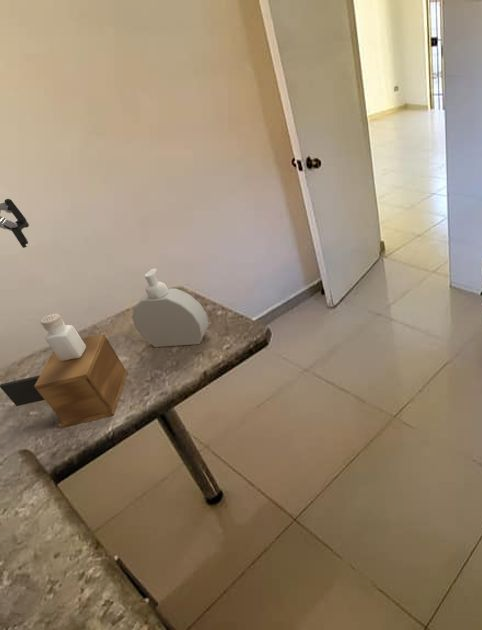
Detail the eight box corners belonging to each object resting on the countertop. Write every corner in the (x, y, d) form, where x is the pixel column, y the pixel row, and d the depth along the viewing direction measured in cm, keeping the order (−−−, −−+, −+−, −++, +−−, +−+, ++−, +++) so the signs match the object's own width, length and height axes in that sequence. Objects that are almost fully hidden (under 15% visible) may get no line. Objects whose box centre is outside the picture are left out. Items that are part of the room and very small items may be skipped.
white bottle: (81, 358, 90) (56, 321, 84) (60, 362, 89) (33, 326, 84) (88, 346, 93) (64, 310, 88) (67, 350, 92) (42, 314, 87)
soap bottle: (215, 331, 115) (188, 266, 104) (208, 344, 111) (179, 277, 99) (155, 335, 115) (121, 270, 104) (145, 348, 111) (109, 281, 99)
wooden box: (61, 428, 91) (27, 387, 84) (80, 383, 101) (52, 344, 94) (114, 415, 93) (86, 374, 86) (127, 372, 104) (103, 333, 97)
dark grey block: (10, 431, 89) (-19, 399, 83) (23, 407, 94) (-4, 376, 89) (63, 418, 91) (38, 386, 86) (73, 395, 96) (50, 364, 91)
